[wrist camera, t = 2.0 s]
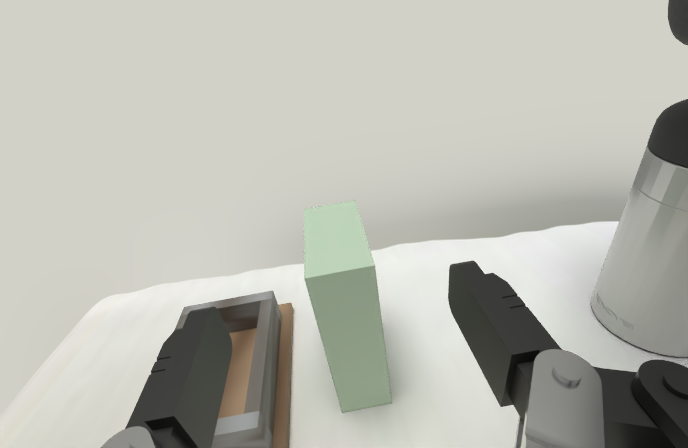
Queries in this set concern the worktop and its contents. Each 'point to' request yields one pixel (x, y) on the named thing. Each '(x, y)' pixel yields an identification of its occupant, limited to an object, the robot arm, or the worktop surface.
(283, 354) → the gray frame wooden base
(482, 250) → the worktop surface
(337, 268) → the block
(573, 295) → the worktop surface
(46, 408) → the worktop surface
